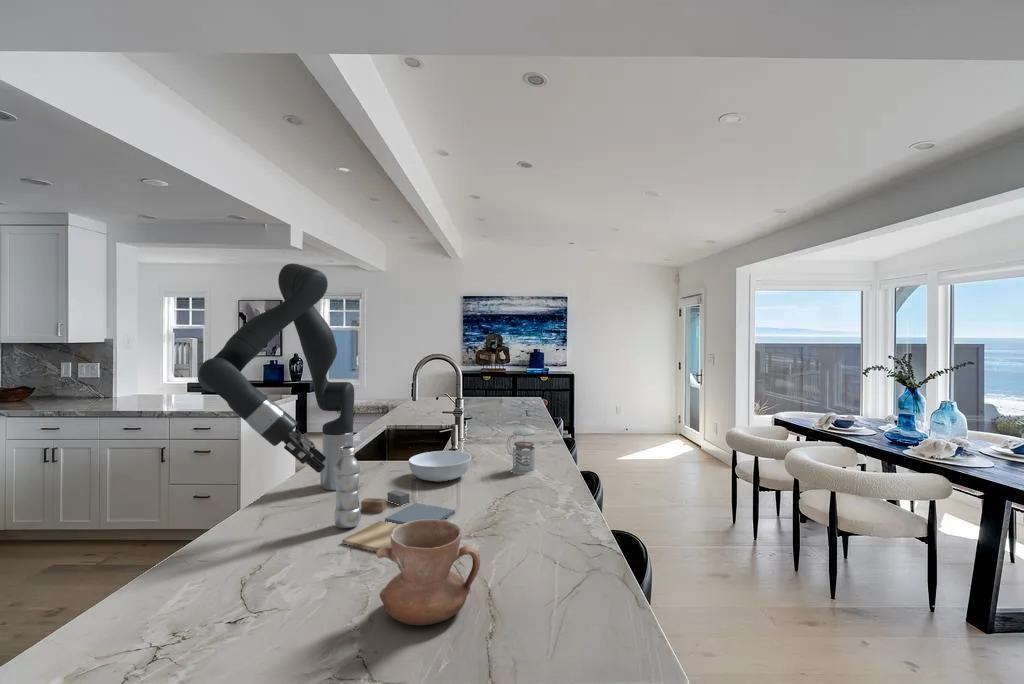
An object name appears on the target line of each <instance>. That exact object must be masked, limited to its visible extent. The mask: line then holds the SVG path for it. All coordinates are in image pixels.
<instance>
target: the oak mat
mask: <svg viewBox="0 0 1024 684" xmlns="http://www.w3.org/2000/svg"><path fill="white" fill-rule="evenodd" d="M397 526H399V525H398V524H393V523H388V522H385V521H383V520H382V521H381V520H379V521H377V522H374V523H372V524H371V525H368V526H367V527H365V528H363V529H360V530H359V531H357V532H355V533H353V534H350V535H349V536H347V537H345V538H343V539H342V540H341V544H342V545H344V544H347V545H346V546H349V545H351V546H350V547H353V546H356V547H355V548H357V547H360V548H359V549H361V548H363V549H362V550H365V549H367V550H366V551H369V550H371V552H374V551H375V552H374V553H377V550H379V549H381V548H385V547H387V548H392V546H391V534H392V531H393V530H394V529H395V528H396V527H397Z"/></svg>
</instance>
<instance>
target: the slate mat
mask: <svg viewBox="0 0 1024 684" xmlns="http://www.w3.org/2000/svg"><path fill="white" fill-rule="evenodd" d="M454 513H455V514H456V509H451V508H446V507H441V506H440V507H439V506H435V505H430V504H424V503H417V502H415V503H413V504H410V505H409V506H407V507H405V508H403V509H401V510H398V511H397V512H394V513H393V514H390V515H389V516H387V517H385V518H384V522H385V521H387V522H392V523H396V524H404V523H407V522H411V521H416V520H422V519H439V520H444V519H445V518H447V517H448V518H450V517H451V516H450V515H452V514H453V515H455V514H454ZM453 515H452V516H453ZM449 516H450V517H449ZM448 518H447V519H448ZM445 520H446V519H445Z"/></svg>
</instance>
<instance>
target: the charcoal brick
mask: <svg viewBox="0 0 1024 684" xmlns="http://www.w3.org/2000/svg"><path fill="white" fill-rule="evenodd" d="M388 501H390V502H393V503H396V504H399V505H403V504H406V503H409V504H410V493H409V492H405V491H401V490H398V489H394V490H389V491H387V502H388ZM406 505H407V504H406ZM403 506H404V505H403Z"/></svg>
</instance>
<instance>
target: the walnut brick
mask: <svg viewBox="0 0 1024 684" xmlns="http://www.w3.org/2000/svg"><path fill="white" fill-rule="evenodd" d="M385 509H386V510H387V498H376V497H375V498H373V497H372V498H371V497H365V498H364V499H363V500H361V503H360V510H361V511H362V512H361V513H374V512H383V511H384V510H385ZM386 510H385V511H386ZM385 511H384V512H385ZM384 512H383V513H384Z"/></svg>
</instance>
